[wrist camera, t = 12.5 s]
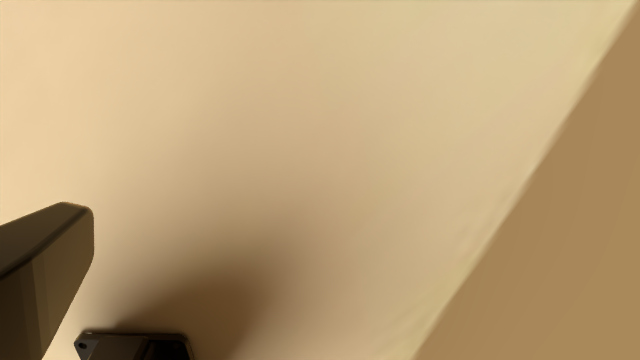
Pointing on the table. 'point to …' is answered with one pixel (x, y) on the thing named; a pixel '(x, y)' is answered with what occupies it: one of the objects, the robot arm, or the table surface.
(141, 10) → the table surface
